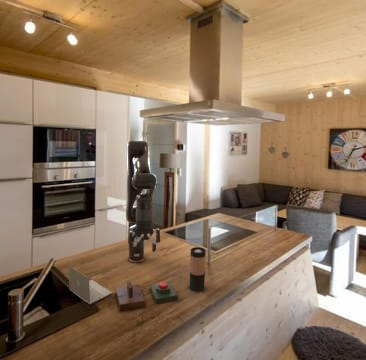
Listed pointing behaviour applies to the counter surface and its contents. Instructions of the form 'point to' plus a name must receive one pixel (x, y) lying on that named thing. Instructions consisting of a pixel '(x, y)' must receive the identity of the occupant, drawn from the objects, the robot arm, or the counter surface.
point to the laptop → (86, 287)
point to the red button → (163, 285)
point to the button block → (163, 293)
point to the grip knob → (129, 289)
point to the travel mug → (197, 268)
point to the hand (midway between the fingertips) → (144, 252)
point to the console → (131, 302)
